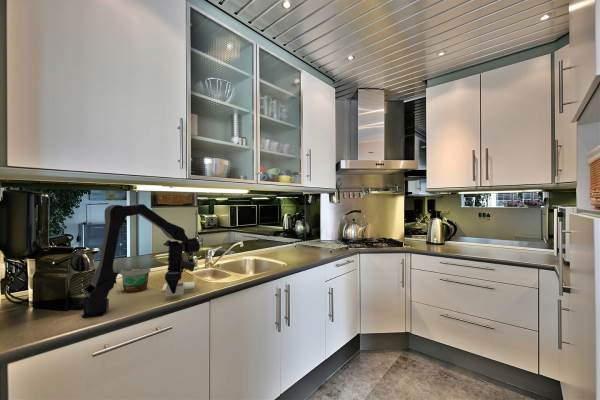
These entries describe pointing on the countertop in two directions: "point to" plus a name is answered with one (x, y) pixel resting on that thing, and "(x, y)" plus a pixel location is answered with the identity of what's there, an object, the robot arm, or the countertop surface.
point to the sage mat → (186, 286)
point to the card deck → (178, 290)
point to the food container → (135, 280)
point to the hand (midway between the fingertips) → (174, 290)
